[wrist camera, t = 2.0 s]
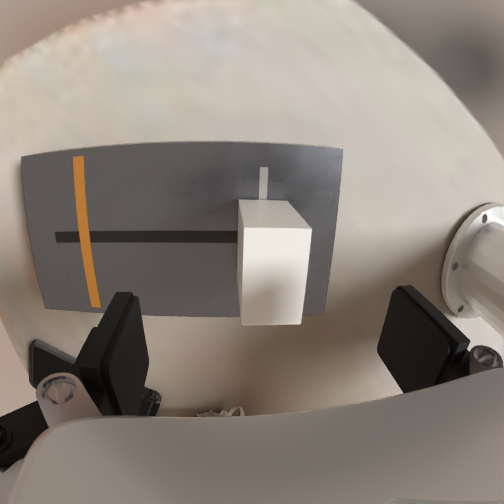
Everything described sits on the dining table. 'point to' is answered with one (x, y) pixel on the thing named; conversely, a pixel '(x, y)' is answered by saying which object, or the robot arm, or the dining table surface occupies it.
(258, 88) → the dining table surface
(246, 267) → the fader tab
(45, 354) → the phone
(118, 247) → the fader console
